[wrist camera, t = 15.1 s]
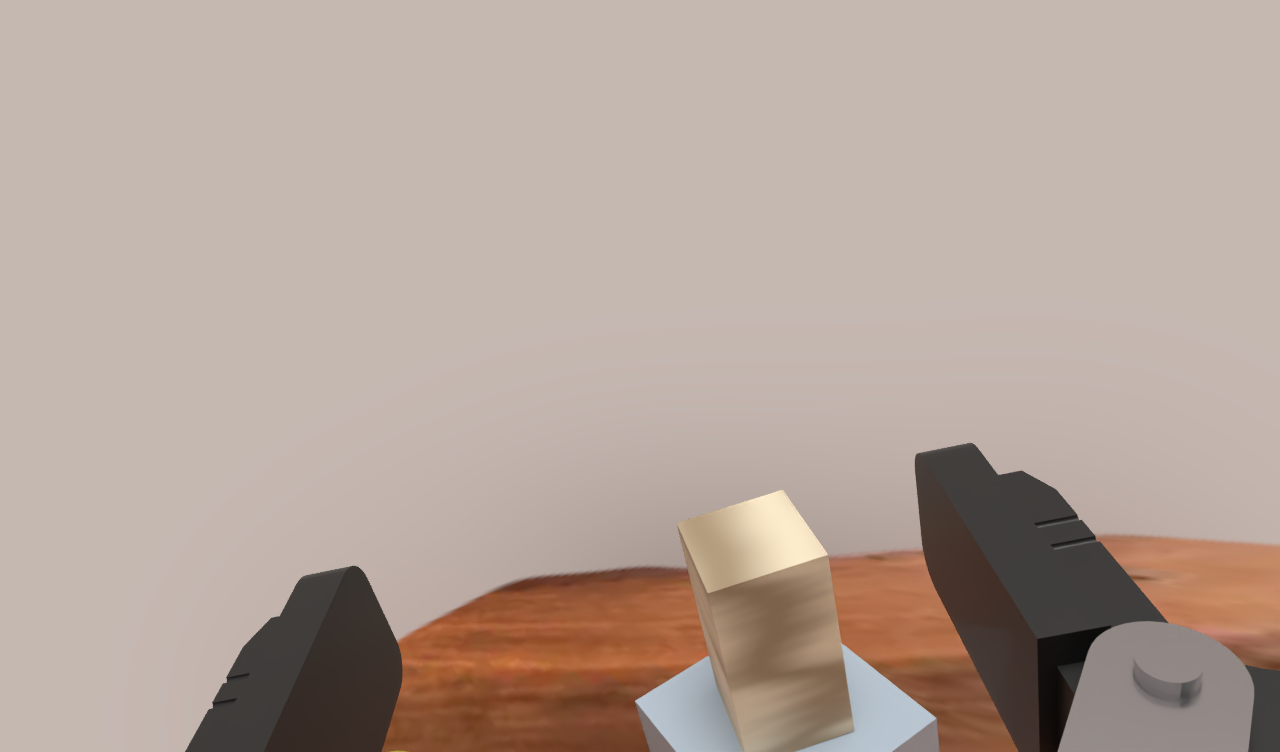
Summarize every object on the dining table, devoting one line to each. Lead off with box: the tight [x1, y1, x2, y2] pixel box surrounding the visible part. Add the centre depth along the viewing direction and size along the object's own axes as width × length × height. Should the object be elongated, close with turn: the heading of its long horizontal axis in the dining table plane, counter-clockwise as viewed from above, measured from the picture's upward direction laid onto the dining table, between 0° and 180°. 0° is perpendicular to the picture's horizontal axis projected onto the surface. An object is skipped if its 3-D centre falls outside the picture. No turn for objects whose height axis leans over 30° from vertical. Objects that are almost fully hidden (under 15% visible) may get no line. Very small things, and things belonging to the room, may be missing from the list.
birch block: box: [677, 490, 854, 752], centre depth 37 cm, size 5×5×10 cm
